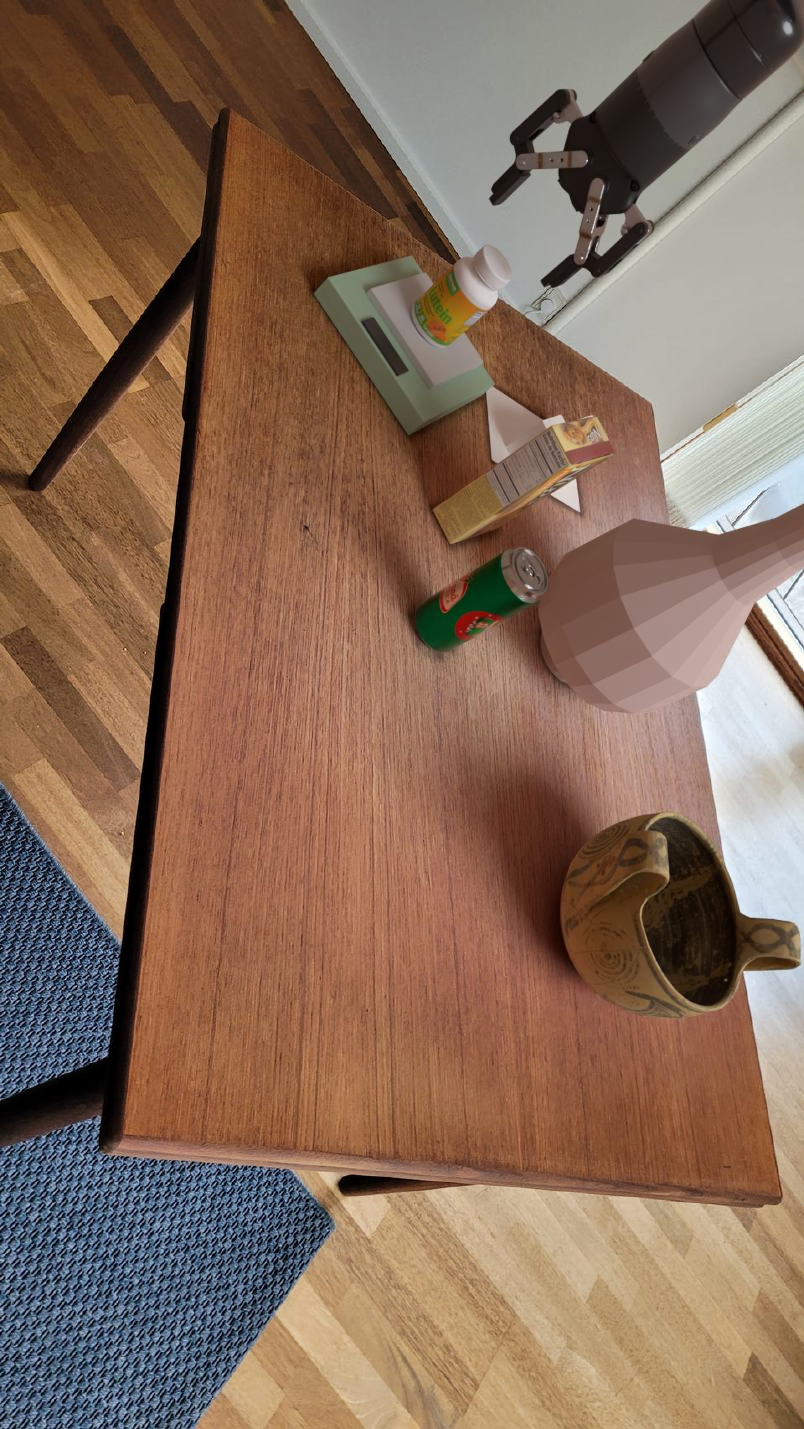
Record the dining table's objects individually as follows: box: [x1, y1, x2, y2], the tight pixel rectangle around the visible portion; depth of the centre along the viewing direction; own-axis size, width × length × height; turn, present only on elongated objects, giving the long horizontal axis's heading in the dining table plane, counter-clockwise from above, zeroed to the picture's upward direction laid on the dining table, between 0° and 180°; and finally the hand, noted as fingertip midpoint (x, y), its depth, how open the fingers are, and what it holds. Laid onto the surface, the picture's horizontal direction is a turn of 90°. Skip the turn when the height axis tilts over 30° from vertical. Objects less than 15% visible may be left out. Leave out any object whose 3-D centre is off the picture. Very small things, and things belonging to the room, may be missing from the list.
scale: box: [313, 255, 496, 436], centre depth 93 cm, size 16×16×3 cm
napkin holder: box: [485, 386, 594, 513], centre depth 103 cm, size 15×11×6 cm
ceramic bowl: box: [559, 810, 802, 1020], centre depth 77 cm, size 22×17×15 cm
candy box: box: [432, 415, 615, 545], centre depth 85 cm, size 9×4×15 cm, turn 129°
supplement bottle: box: [411, 244, 513, 348], centre depth 89 cm, size 5×5×10 cm
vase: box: [538, 503, 804, 715], centre depth 84 cm, size 18×18×30 cm
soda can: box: [414, 546, 549, 653], centre depth 78 cm, size 5×5×12 cm
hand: (519, 242), depth 84 cm, fingers open, 8 cm apart
